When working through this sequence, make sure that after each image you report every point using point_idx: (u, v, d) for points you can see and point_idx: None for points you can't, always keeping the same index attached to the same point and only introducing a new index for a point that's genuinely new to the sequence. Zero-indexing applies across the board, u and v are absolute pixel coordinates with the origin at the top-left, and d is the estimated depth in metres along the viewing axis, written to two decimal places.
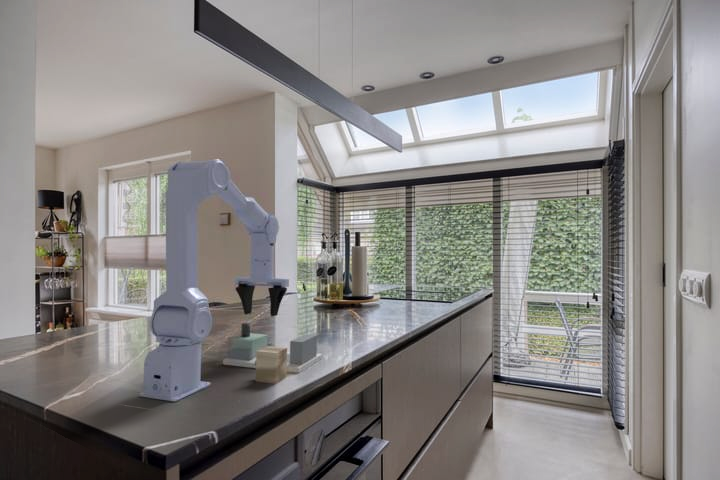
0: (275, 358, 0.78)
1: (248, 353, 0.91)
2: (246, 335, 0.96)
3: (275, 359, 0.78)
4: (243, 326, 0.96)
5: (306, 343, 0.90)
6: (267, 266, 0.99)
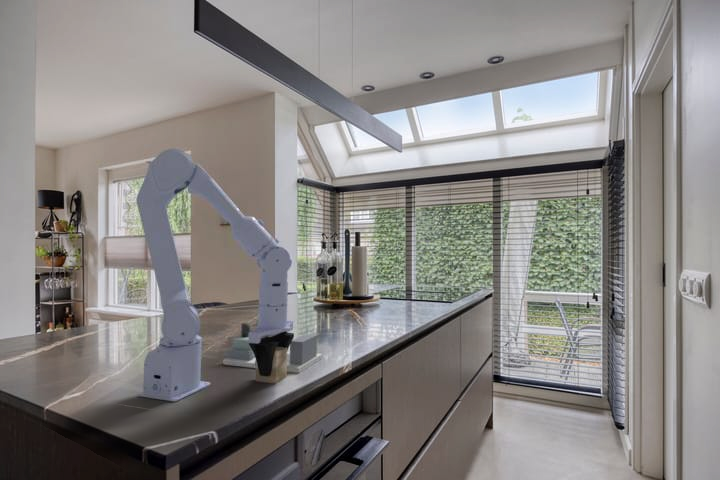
0: (275, 358, 0.78)
1: (248, 353, 0.91)
2: (246, 335, 0.96)
3: (275, 359, 0.78)
4: (243, 326, 0.96)
5: (306, 343, 0.90)
6: (260, 311, 0.80)
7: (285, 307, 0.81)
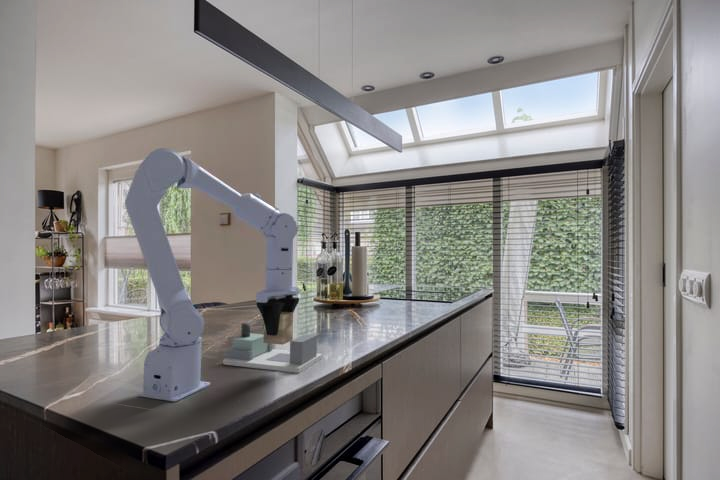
0: (281, 320, 0.83)
1: (248, 353, 0.91)
2: (246, 335, 0.96)
3: (282, 321, 0.83)
4: (243, 326, 0.96)
5: (306, 343, 0.90)
6: (267, 275, 0.84)
7: (290, 271, 0.85)
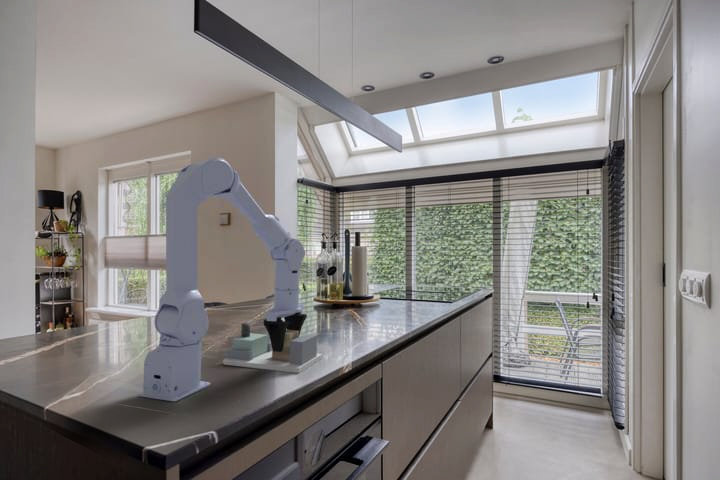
0: (289, 339, 0.91)
1: (248, 353, 0.91)
2: (246, 335, 0.96)
3: (289, 339, 0.91)
4: (243, 326, 0.96)
5: (306, 343, 0.90)
6: (275, 295, 0.92)
7: (297, 291, 0.93)
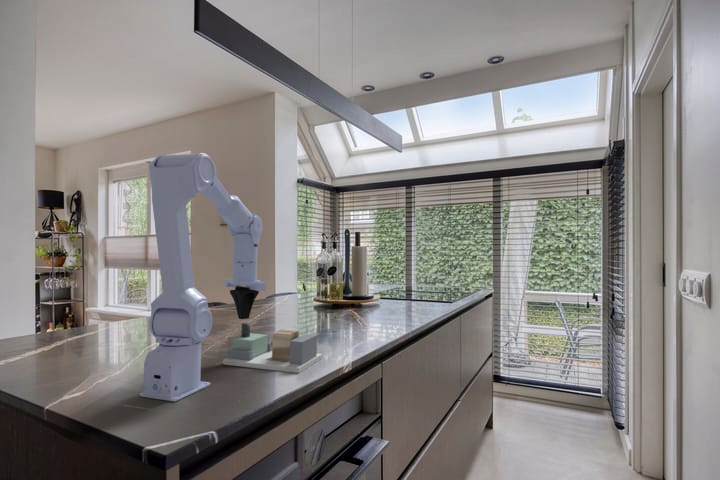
0: (289, 339, 0.91)
1: (248, 353, 0.91)
2: (246, 335, 0.96)
3: (289, 339, 0.91)
4: (243, 326, 0.96)
5: (306, 343, 0.90)
6: (245, 268, 0.95)
7: None
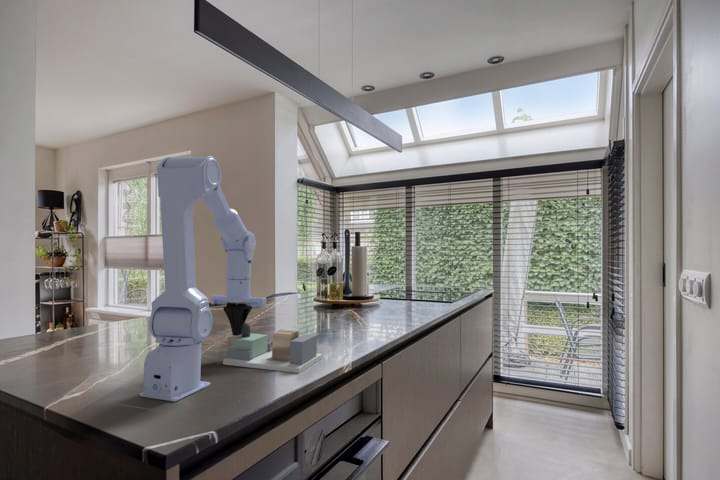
0: (289, 339, 0.91)
1: (248, 353, 0.91)
2: (246, 335, 0.96)
3: (289, 339, 0.91)
4: (243, 326, 0.96)
5: (306, 343, 0.90)
6: (243, 284, 0.96)
7: None
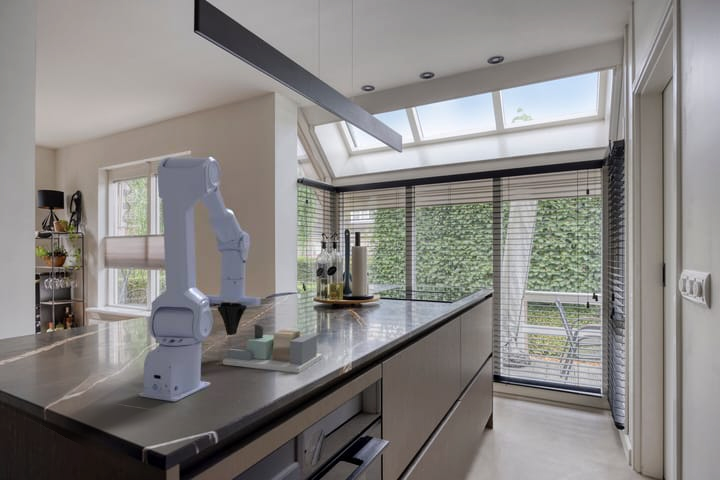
0: (290, 339, 0.91)
1: (248, 353, 0.91)
2: (259, 337, 0.95)
3: (290, 339, 0.91)
4: (256, 327, 0.95)
5: (306, 343, 0.90)
6: (237, 284, 0.96)
7: None
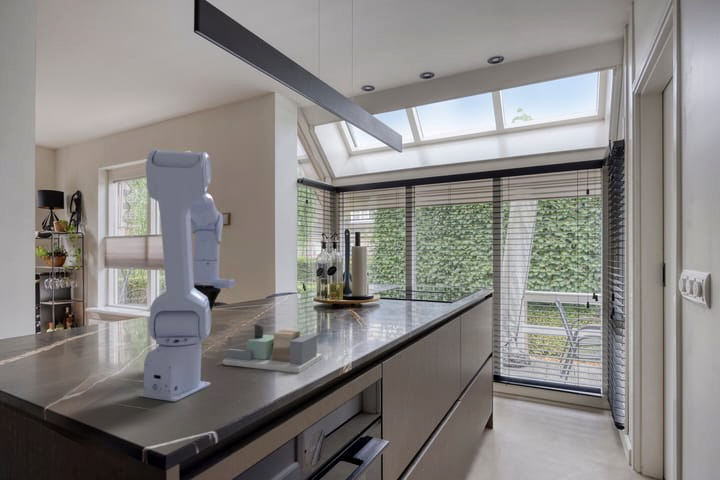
0: (290, 339, 0.91)
1: (248, 353, 0.91)
2: (259, 337, 0.95)
3: (290, 339, 0.91)
4: (256, 327, 0.95)
5: (306, 343, 0.90)
6: (210, 265, 0.93)
7: None
